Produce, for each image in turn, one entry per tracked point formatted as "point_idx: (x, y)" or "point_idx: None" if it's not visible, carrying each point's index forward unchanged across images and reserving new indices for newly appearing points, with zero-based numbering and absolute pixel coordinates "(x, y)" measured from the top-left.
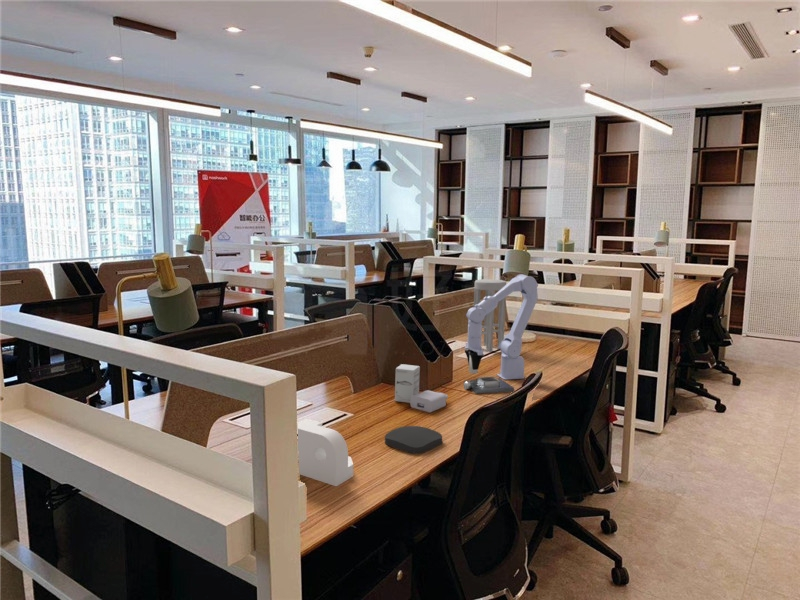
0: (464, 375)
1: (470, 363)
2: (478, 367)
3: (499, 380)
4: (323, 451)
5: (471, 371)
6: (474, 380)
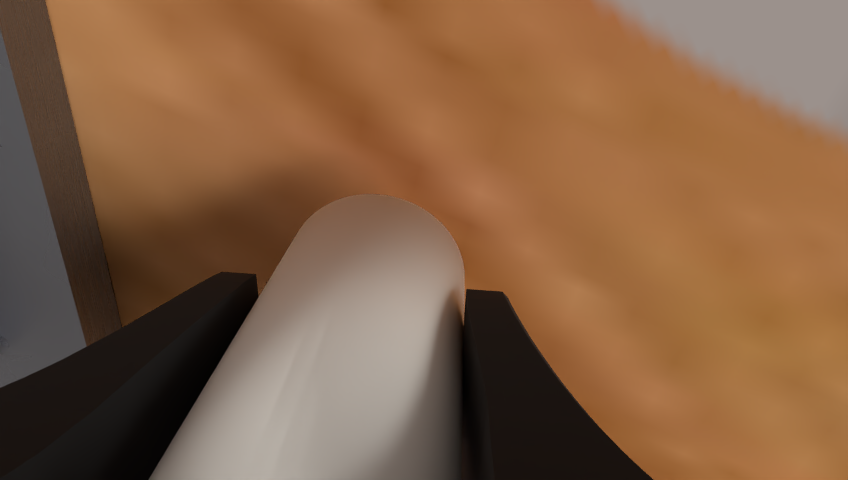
0: (624, 160)
1: (283, 320)
2: None
3: None
4: None
5: (304, 229)
6: (5, 113)
